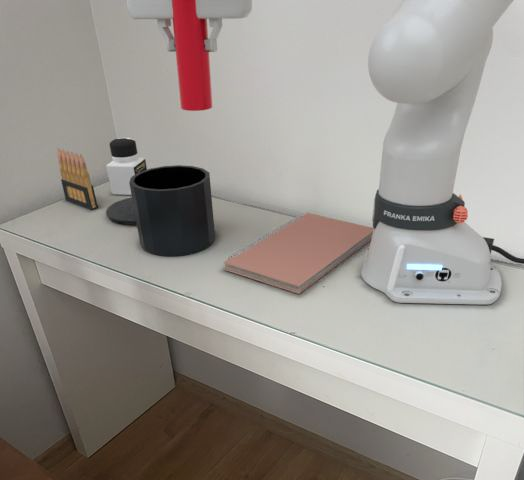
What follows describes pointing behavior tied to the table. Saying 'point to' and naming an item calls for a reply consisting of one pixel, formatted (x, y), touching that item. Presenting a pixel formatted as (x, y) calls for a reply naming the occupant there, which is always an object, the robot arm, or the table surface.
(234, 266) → the notebook
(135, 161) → the medicine bottle
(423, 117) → the robot arm
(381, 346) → the table surface
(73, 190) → the ammunition clip
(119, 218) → the bin lid
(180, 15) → the bottle
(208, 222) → the trash bin
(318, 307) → the table surface
